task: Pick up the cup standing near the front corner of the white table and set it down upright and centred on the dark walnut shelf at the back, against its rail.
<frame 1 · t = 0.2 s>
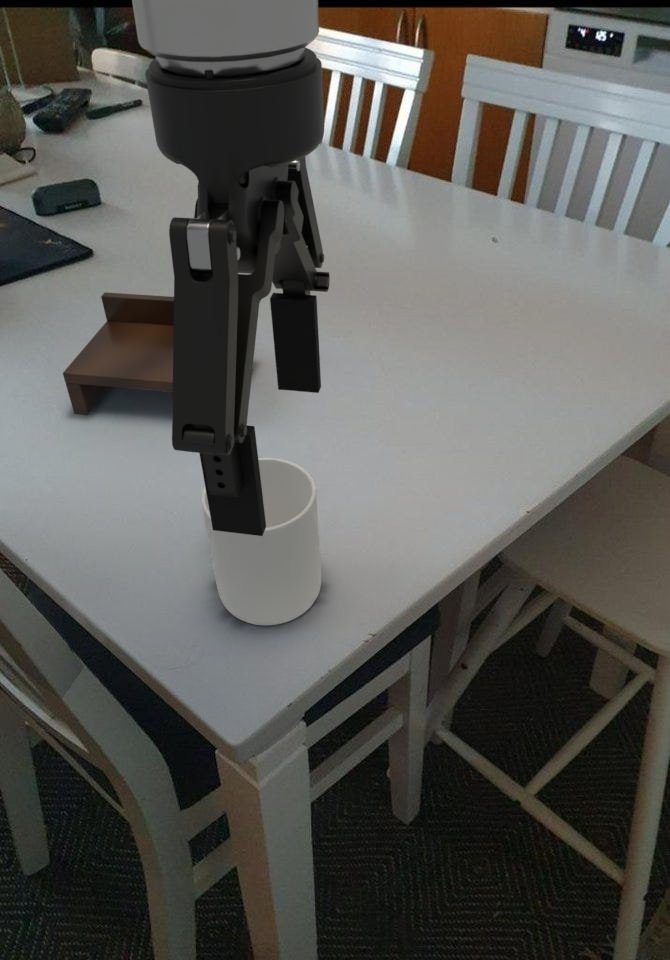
hand: (272, 451, 48), 19 cm above the table, tool pointing down, fingers open, 13 cm apart
shelf: (166, 388, 88), on the table
cup: (258, 577, 66), on the table
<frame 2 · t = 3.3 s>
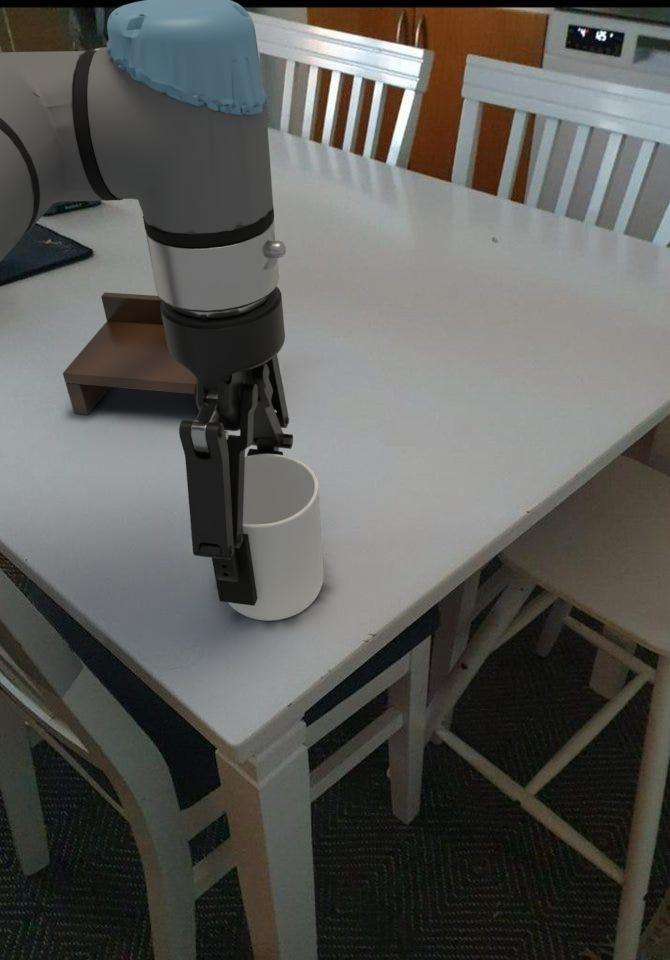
hand: (256, 554, 64), 3 cm above the table, tool pointing down, fingers closed on cup, 9 cm apart
cup: (260, 573, 67), on the table, touching gripper
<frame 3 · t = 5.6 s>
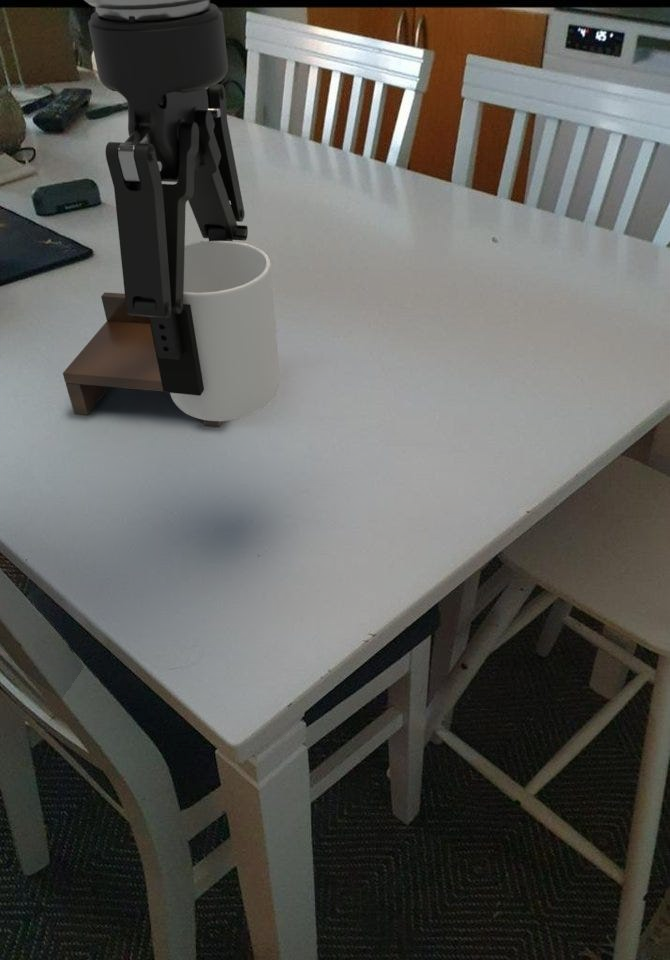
hand: (206, 355, 60), 17 cm above the table, tool pointing down, fingers closed on cup, 9 cm apart
cup: (213, 383, 62), point 14 cm above the table, touching gripper
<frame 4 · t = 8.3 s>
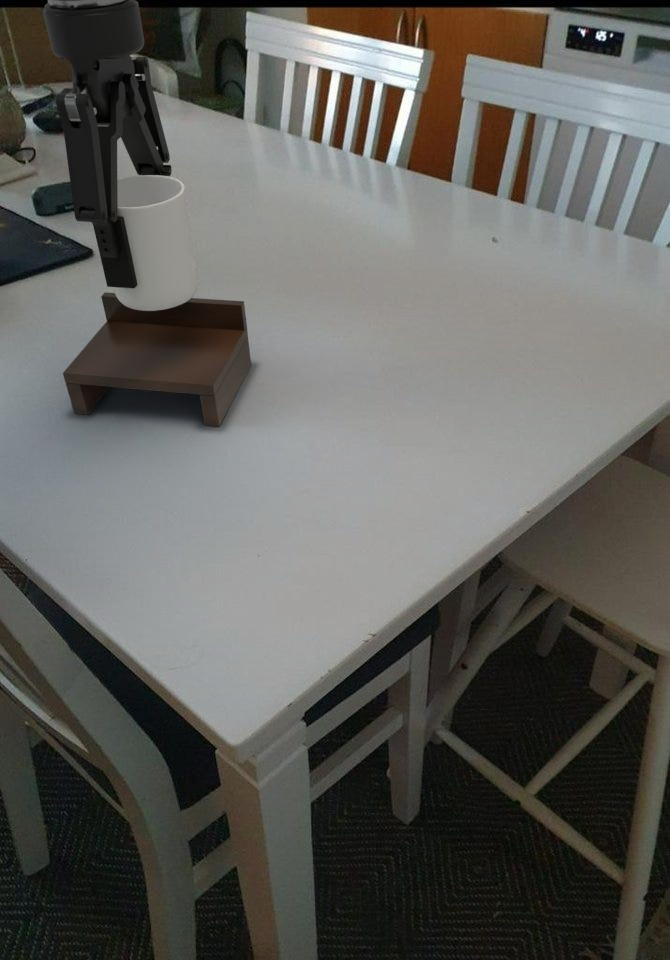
hand: (141, 263, 79), 15 cm above the table, tool pointing down, fingers closed on cup, 9 cm apart
cup: (149, 287, 82), point 12 cm above the table, touching gripper
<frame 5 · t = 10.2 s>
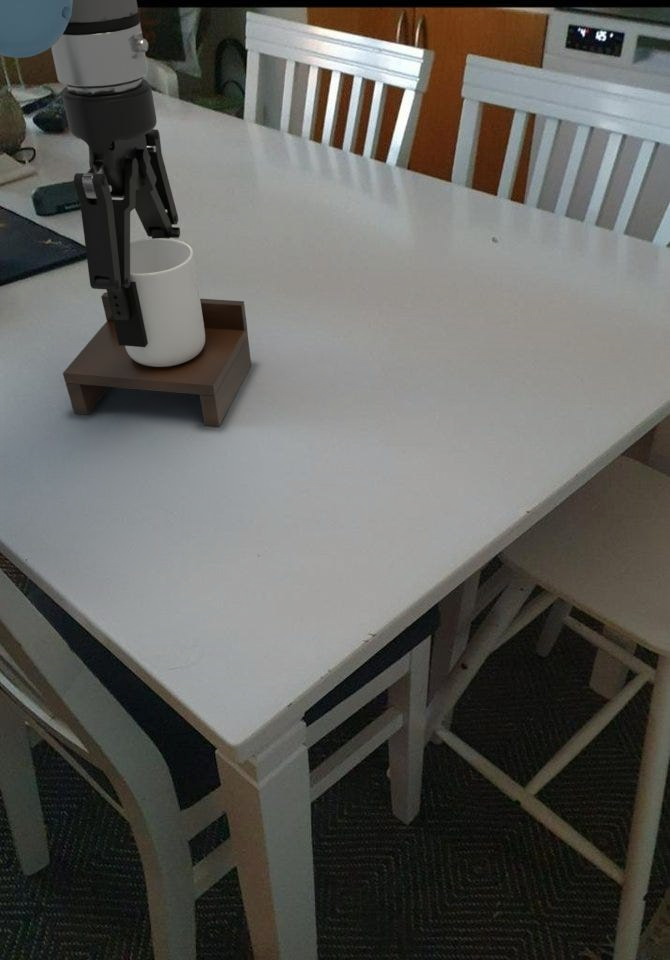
hand: (151, 320, 83), 8 cm above the table, tool pointing down, fingers closed on cup, 9 cm apart
cup: (158, 342, 86), point 5 cm above the table, touching gripper
when the fingers open (8 cm above the table, at t = 13.4 s): cup stays where it is, resting on shelf.
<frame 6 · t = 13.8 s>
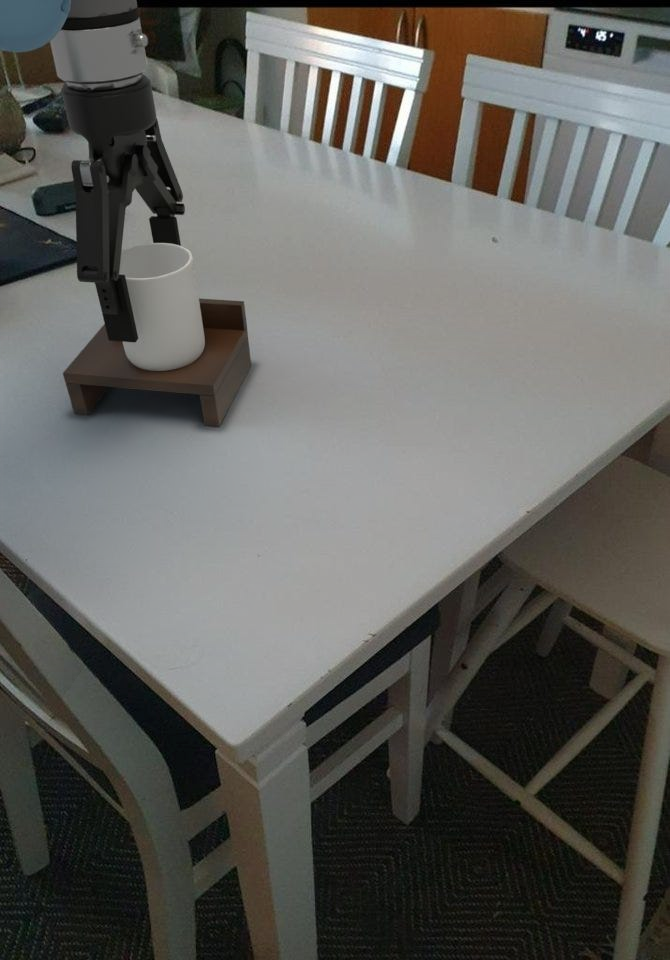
hand: (149, 306, 82), 10 cm above the table, tool pointing down, fingers open, 13 cm apart
cup: (157, 346, 86), point 5 cm above the table, touching shelf
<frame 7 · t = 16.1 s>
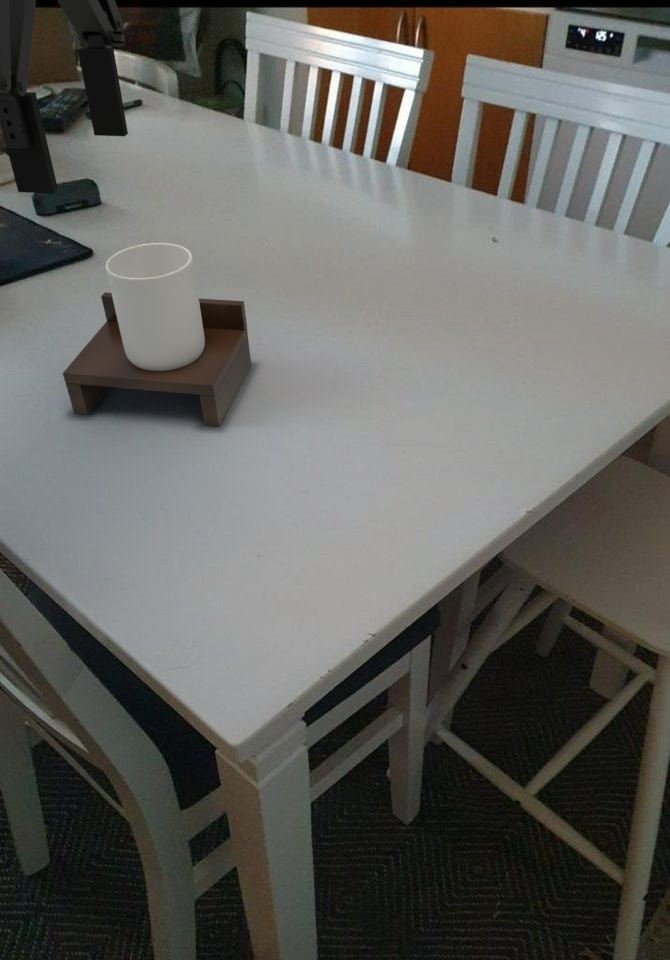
hand: (77, 161, 63), 28 cm above the table, tool pointing down, fingers open, 13 cm apart
nothing on the table moved.
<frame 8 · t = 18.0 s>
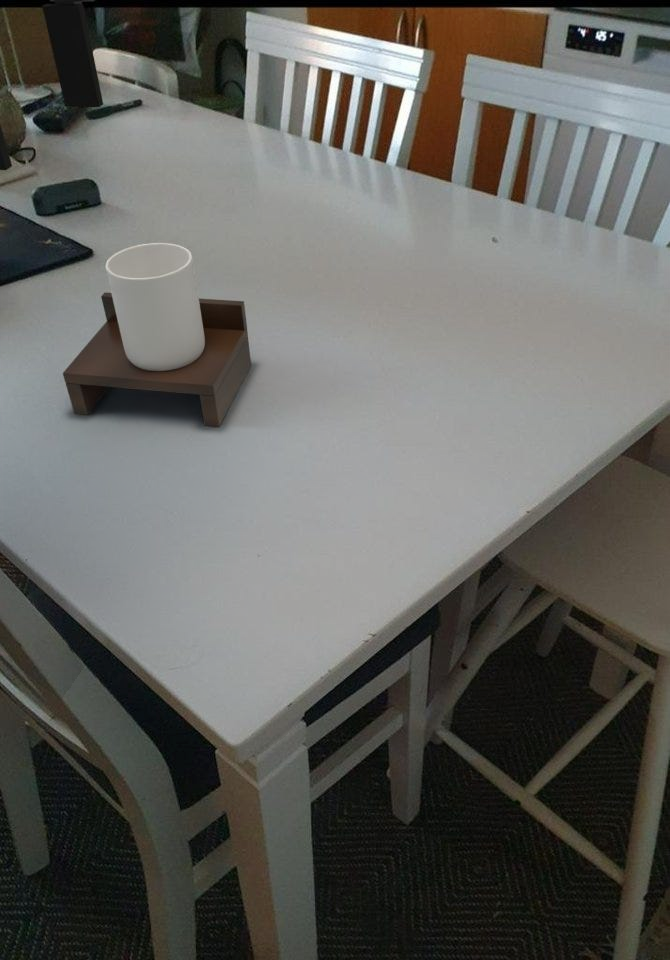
hand: (41, 134, 55), 32 cm above the table, tool pointing down, fingers open, 13 cm apart
nothing on the table moved.
at the end: cup inside the target area on the shelf (0.8 cm from its centre), point 4.8 cm above the shelf's base; cup tilted 0°; the gripper is holding nothing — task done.
